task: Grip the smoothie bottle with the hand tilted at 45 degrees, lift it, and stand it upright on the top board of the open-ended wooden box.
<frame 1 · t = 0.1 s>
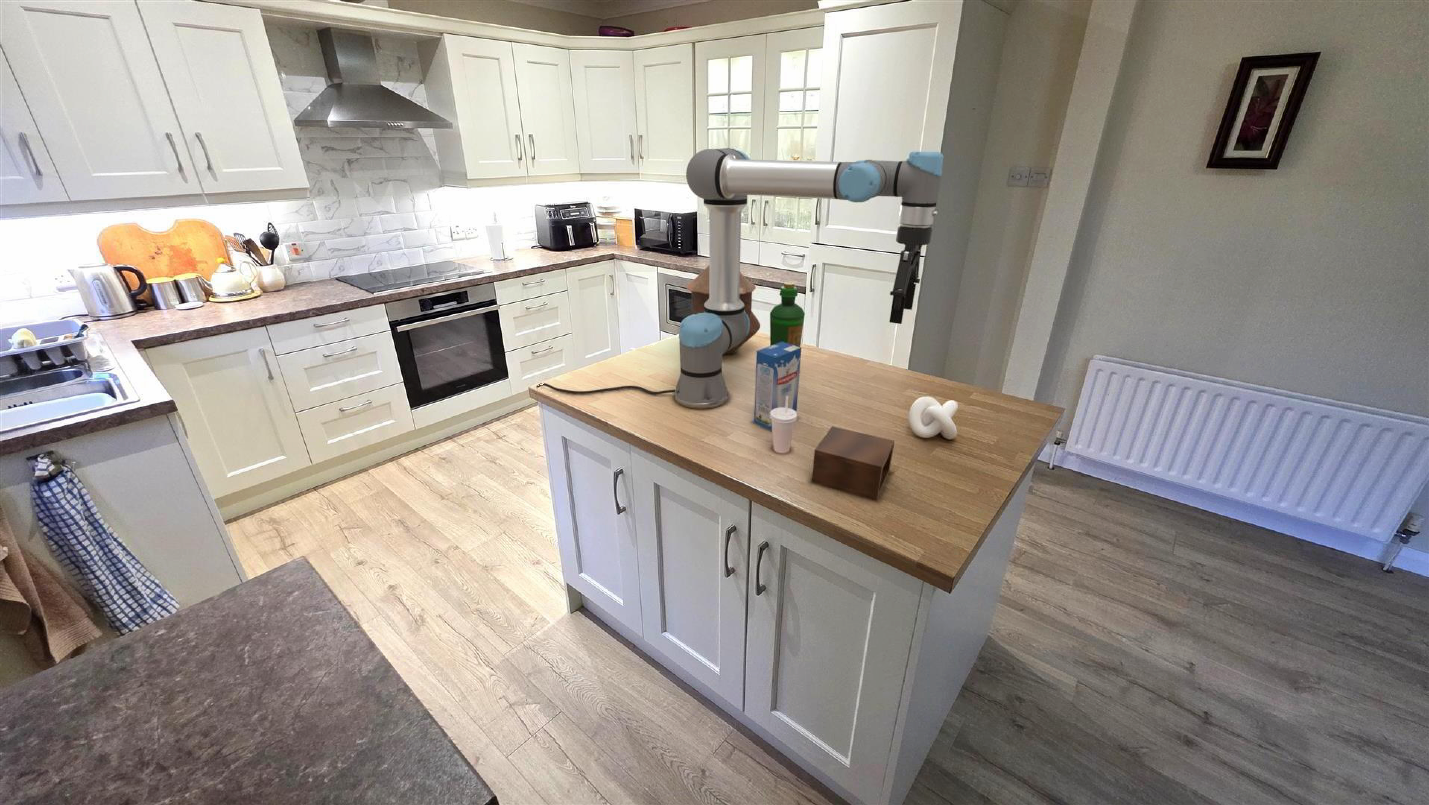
hand: (901, 315, 135), 28 cm above the countertop, tool pointing down, fingers open, 13 cm apart
bottle: (783, 370, 176), on the countertop
open-ended wooden box: (850, 477, 120), on the countertop
smoothie: (781, 449, 131), on the countertop
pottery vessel: (722, 350, 193), on the countertop
white knot sculpture: (933, 433, 139), on the countertop
milk carton: (775, 421, 145), on the countertop
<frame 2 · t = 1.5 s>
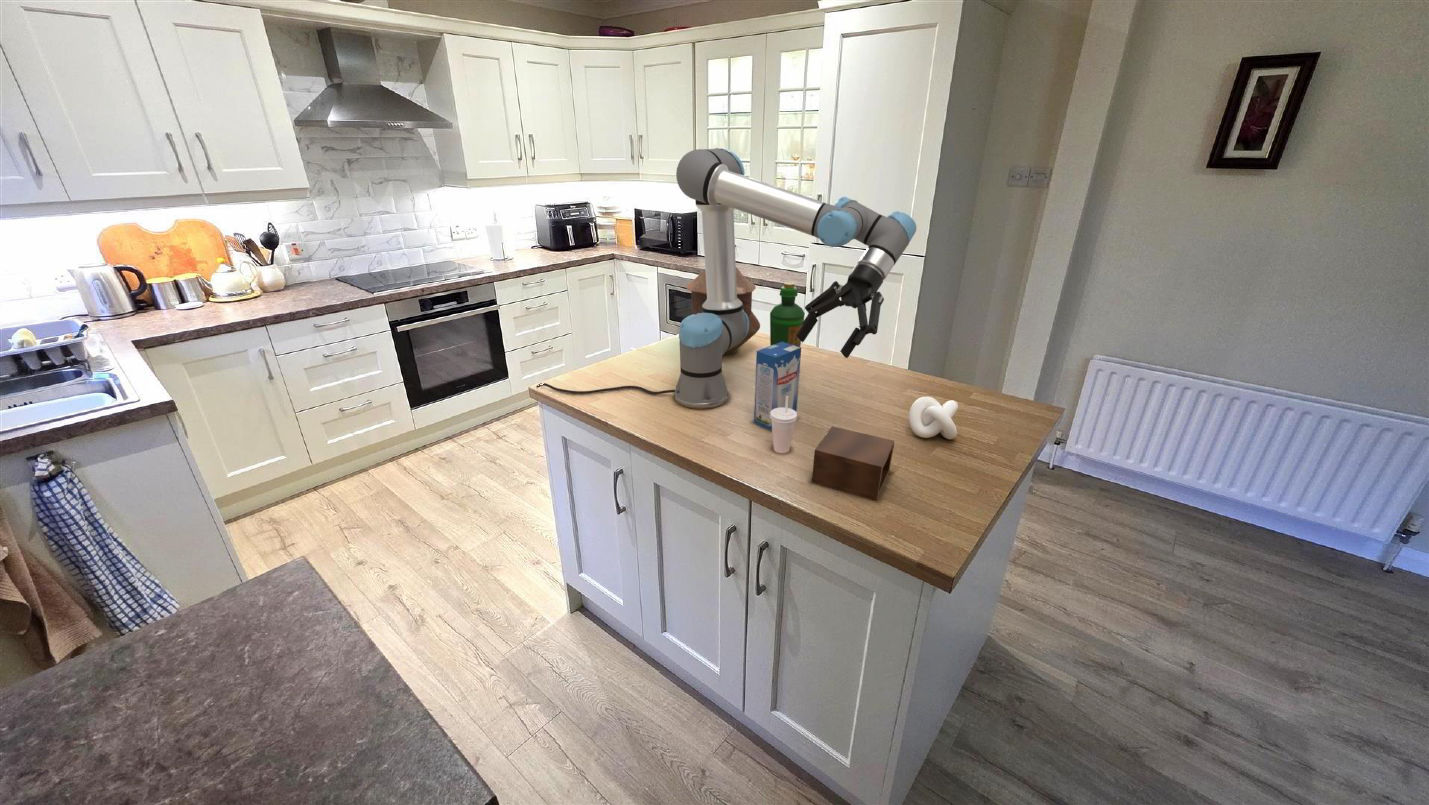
hand: (820, 346, 127), 24 cm above the countertop, tool tilted 45°, fingers open, 13 cm apart
nothing on the countertop moved.
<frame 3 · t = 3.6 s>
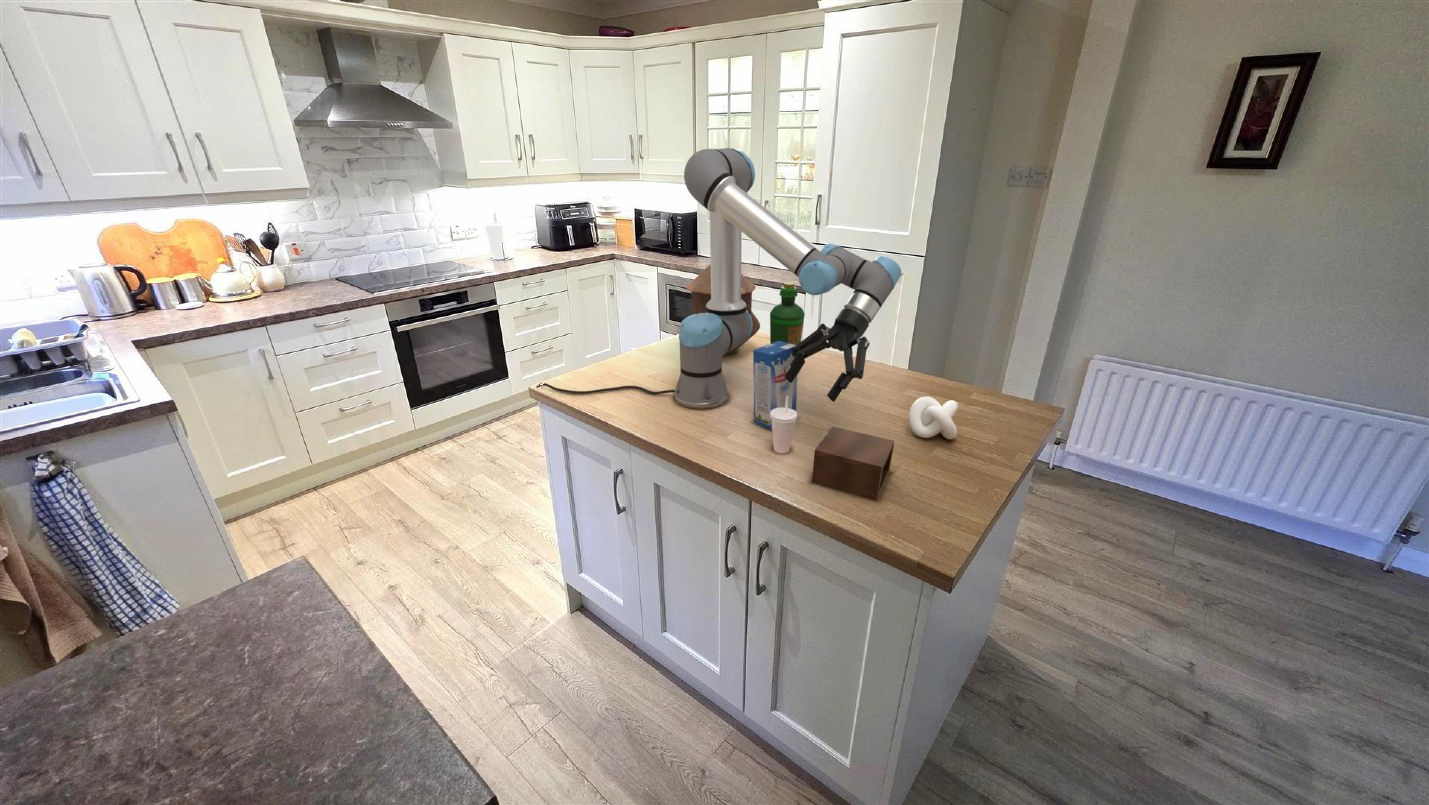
hand: (808, 389, 129), 14 cm above the countertop, tool tilted 45°, fingers open, 13 cm apart
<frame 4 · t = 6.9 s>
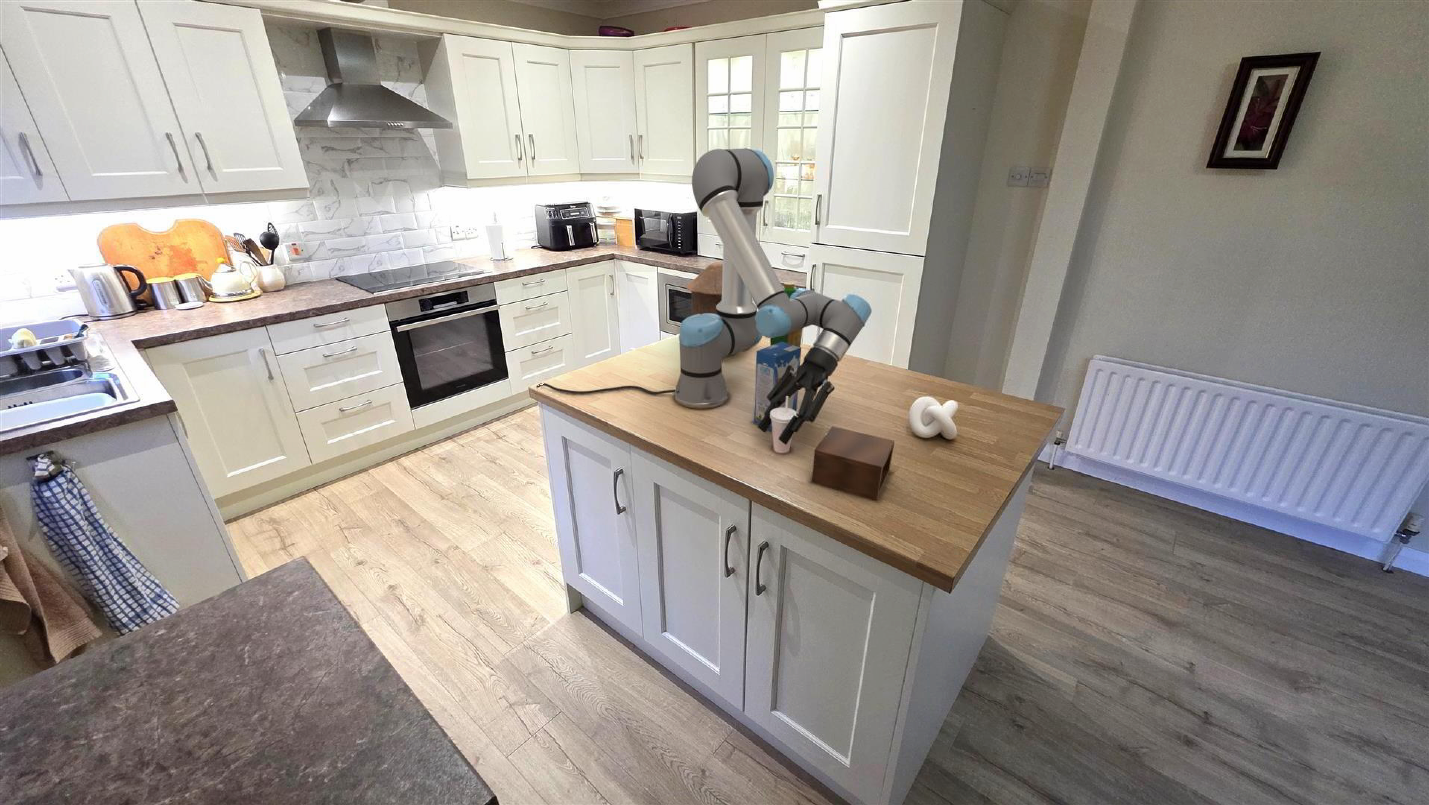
hand: (771, 435, 127), 5 cm above the countertop, tool tilted 45°, fingers closed on smoothie, 6 cm apart
smoothie: (781, 449, 131), on the countertop, touching gripper
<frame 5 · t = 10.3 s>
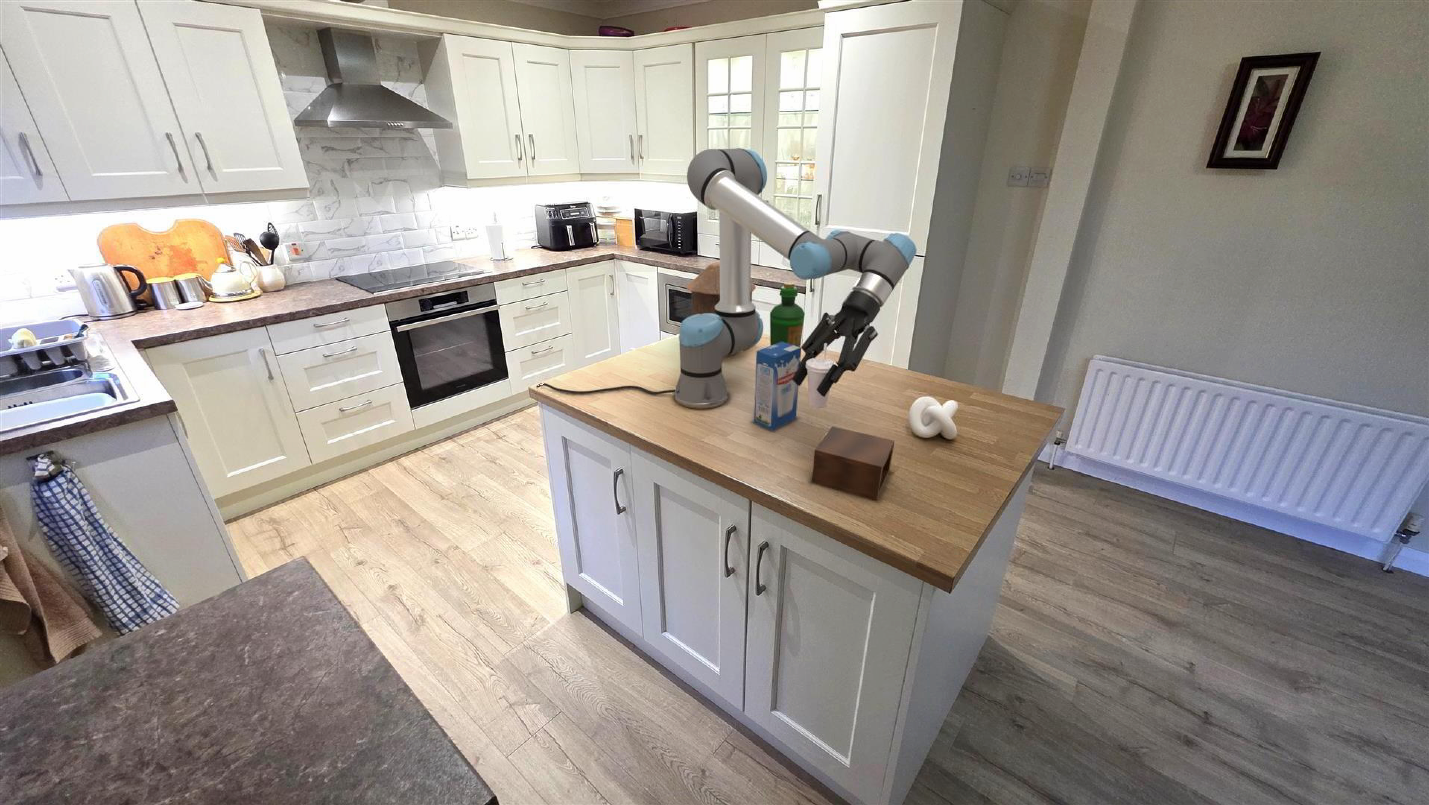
hand: (807, 387, 116), 20 cm above the countertop, tool tilted 45°, fingers closed on smoothie, 6 cm apart
smoothie: (817, 404, 120), point 15 cm above the countertop, touching gripper
everything else where it was.
when the fingers open (13 cm above the countertop, at t = 13.7 s): smoothie stays where it is, resting on open-ended wooden box.
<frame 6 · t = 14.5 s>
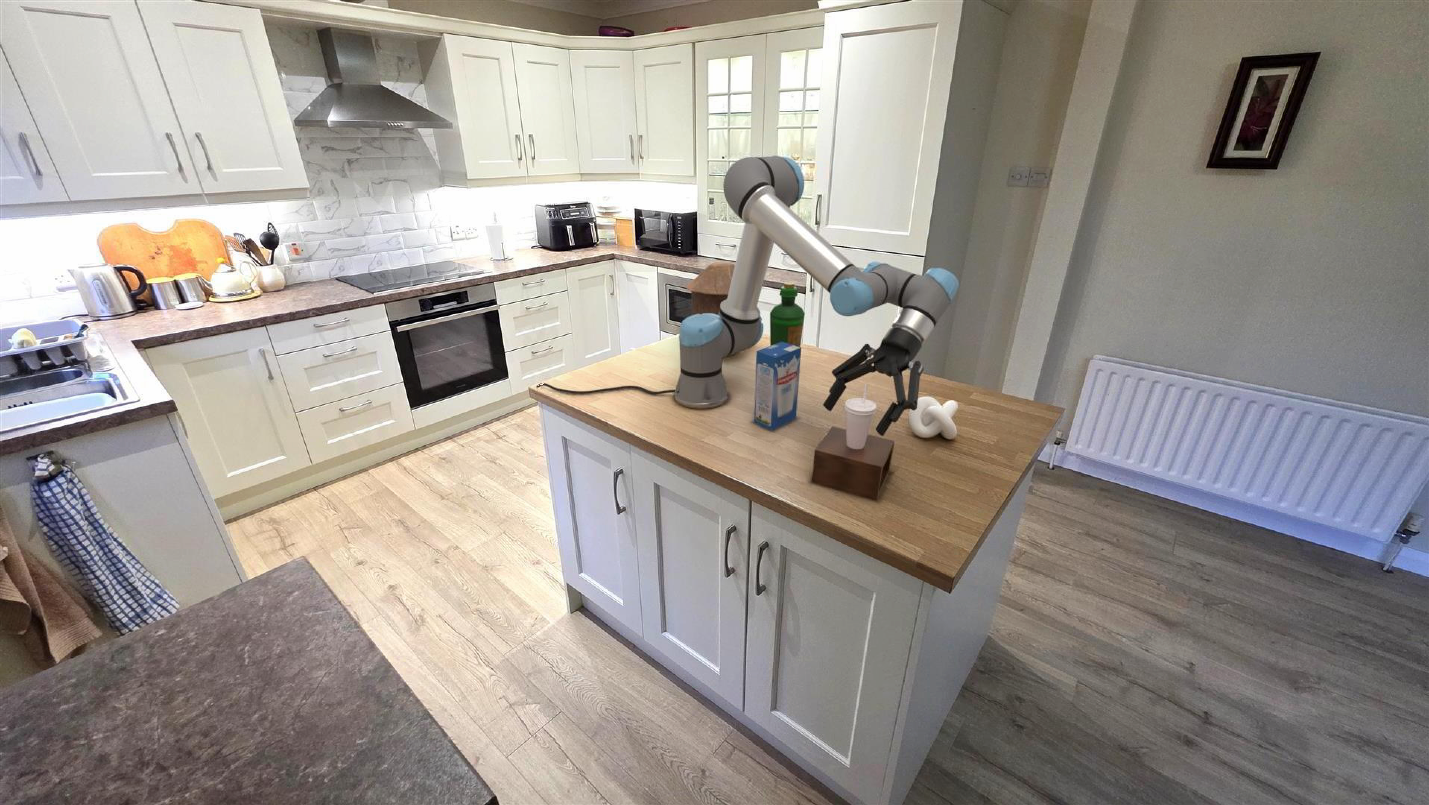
hand: (851, 420, 113), 15 cm above the countertop, tool tilted 45°, fingers open, 13 cm apart
smoothie: (855, 445, 117), point 8 cm above the countertop, touching open-ended wooden box
everything else where it was.
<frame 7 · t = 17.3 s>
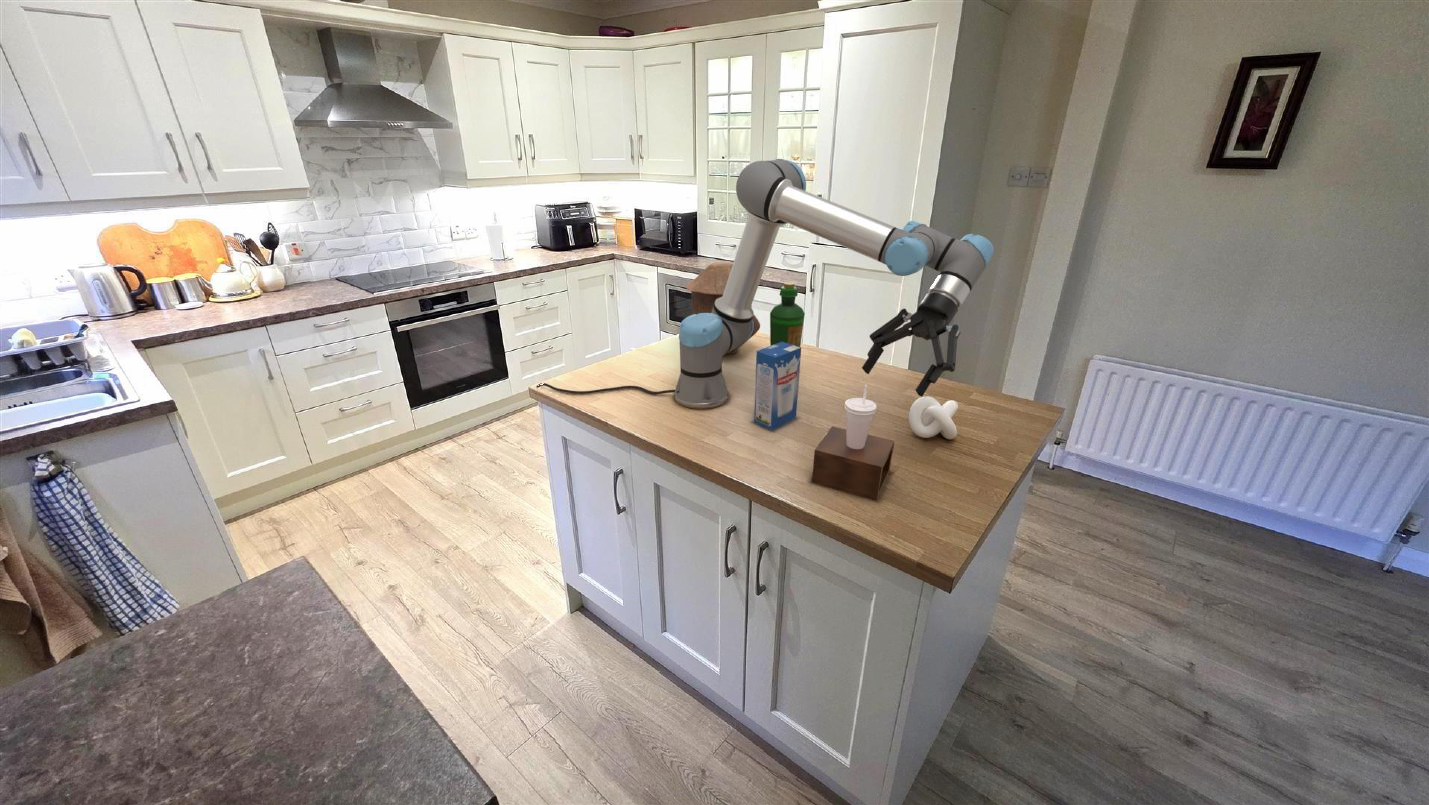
hand: (890, 382, 119), 20 cm above the countertop, tool tilted 45°, fingers open, 13 cm apart
nothing on the countertop moved.
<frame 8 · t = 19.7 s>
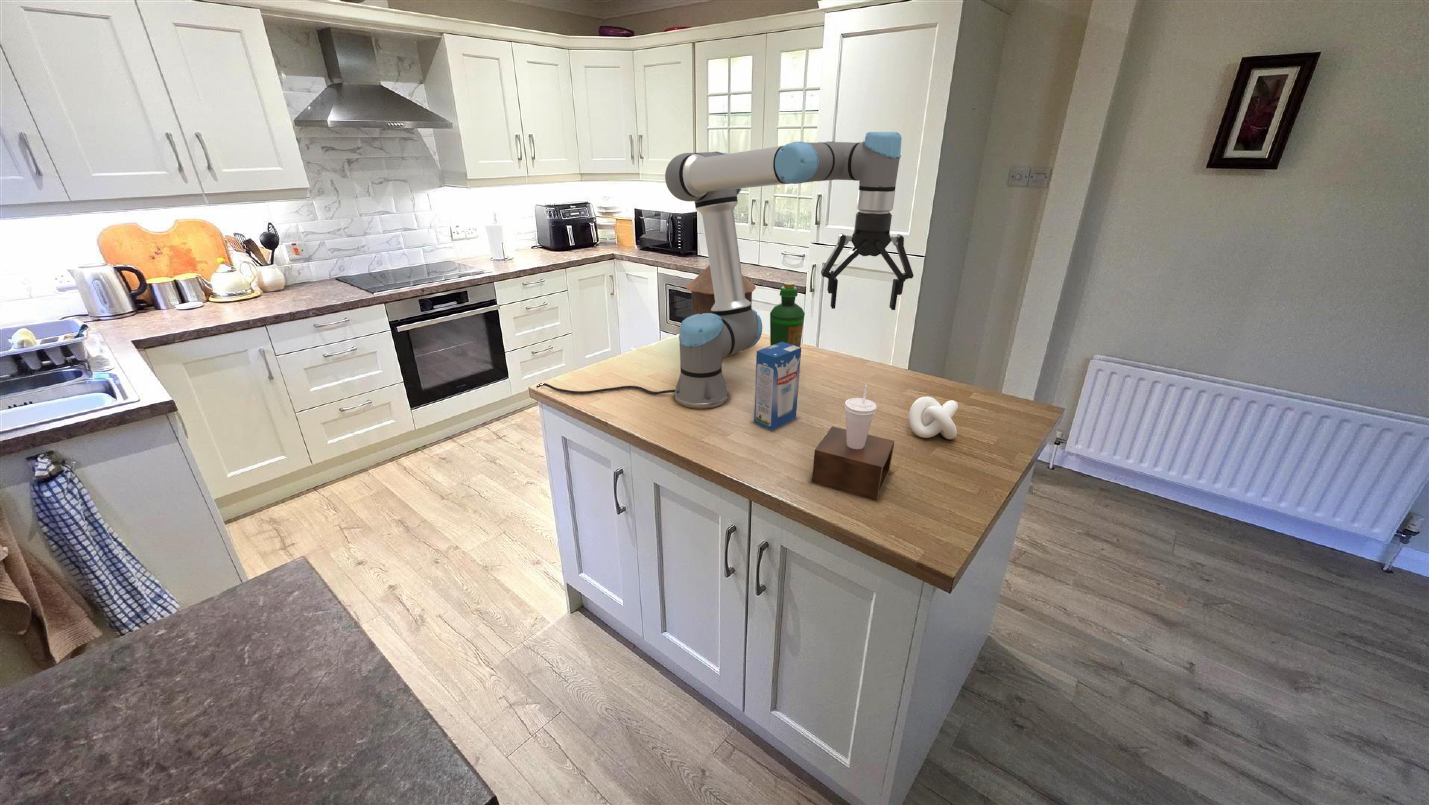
hand: (862, 307, 127), 32 cm above the countertop, tool pointing down, fingers open, 13 cm apart
nothing on the countertop moved.
at the end: smoothie inside the target area on the open-ended wooden box (0.0 cm from its centre), point 8.0 cm above the open-ended wooden box's base; smoothie tilted 0°; the gripper is holding nothing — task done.
